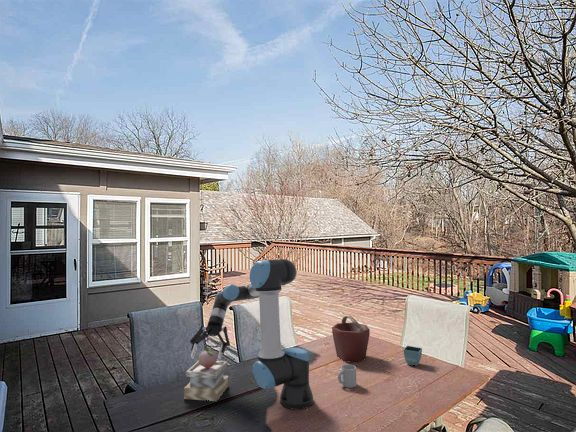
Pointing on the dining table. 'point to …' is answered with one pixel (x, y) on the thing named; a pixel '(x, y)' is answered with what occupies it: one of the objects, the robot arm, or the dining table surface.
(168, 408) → the dining table surface
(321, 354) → the dining table surface
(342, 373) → the cup
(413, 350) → the flower pot
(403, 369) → the dining table surface
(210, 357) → the decorative fruit
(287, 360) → the robot arm
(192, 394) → the block tower
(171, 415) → the dining table surface
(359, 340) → the bucket
